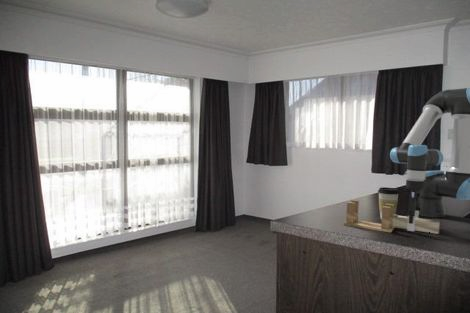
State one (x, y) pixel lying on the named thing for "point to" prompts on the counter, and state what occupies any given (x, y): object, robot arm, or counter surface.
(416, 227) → the rail
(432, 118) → the robot arm
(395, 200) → the coffee cup
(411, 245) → the counter surface
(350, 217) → the wooden stand
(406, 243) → the counter surface
